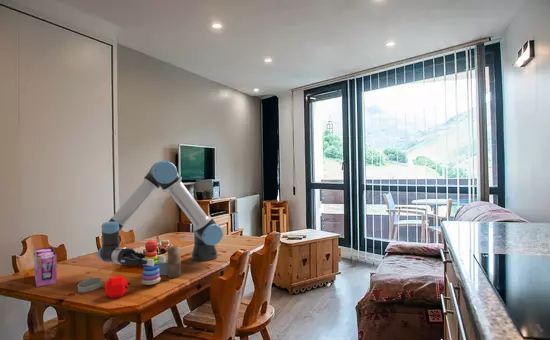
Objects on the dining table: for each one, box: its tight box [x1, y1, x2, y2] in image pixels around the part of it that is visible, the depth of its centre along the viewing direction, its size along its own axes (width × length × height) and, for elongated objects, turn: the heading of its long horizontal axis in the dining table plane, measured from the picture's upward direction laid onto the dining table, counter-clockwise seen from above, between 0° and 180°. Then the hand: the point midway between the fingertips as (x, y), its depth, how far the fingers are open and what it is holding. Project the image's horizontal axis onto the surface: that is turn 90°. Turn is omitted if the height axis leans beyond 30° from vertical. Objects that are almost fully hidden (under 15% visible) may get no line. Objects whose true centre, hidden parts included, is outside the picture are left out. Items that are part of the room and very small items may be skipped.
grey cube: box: [158, 259, 168, 276], centre depth 163 cm, size 6×6×6 cm
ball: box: [104, 274, 129, 299], centre depth 133 cm, size 8×8×8 cm
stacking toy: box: [141, 239, 162, 286], centre depth 145 cm, size 8×8×19 cm
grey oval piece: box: [77, 276, 102, 293], centre depth 142 cm, size 9×6×5 cm
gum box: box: [33, 246, 58, 288], centre depth 157 cm, size 24×8×14 cm, turn 39°
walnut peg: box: [167, 245, 182, 279], centre depth 158 cm, size 6×6×14 cm
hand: (159, 260), depth 143 cm, fingers closed on stacking toy, 6 cm apart
